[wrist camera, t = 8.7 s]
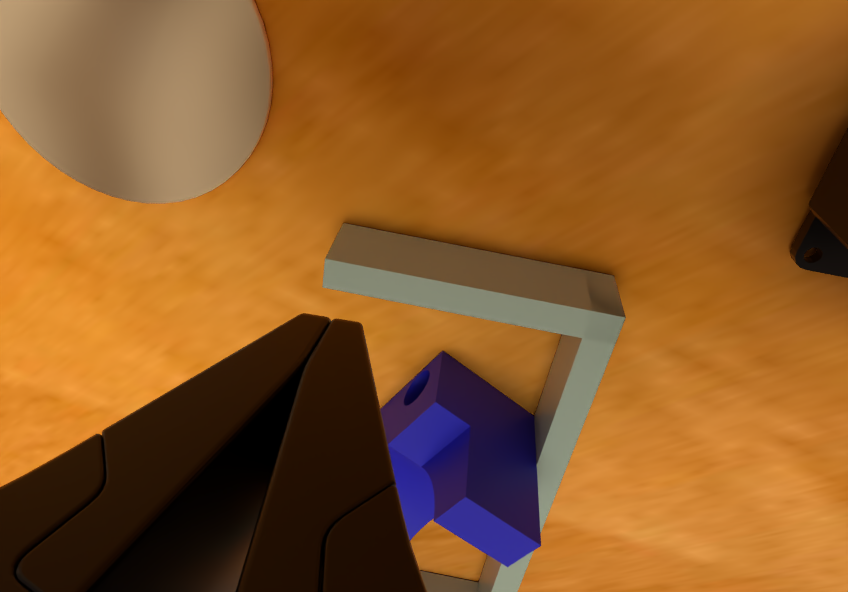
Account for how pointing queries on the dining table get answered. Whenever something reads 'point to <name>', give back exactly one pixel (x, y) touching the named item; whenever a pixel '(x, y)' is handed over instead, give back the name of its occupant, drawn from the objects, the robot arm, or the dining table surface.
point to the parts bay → (508, 303)
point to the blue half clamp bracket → (465, 460)
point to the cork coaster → (137, 90)
